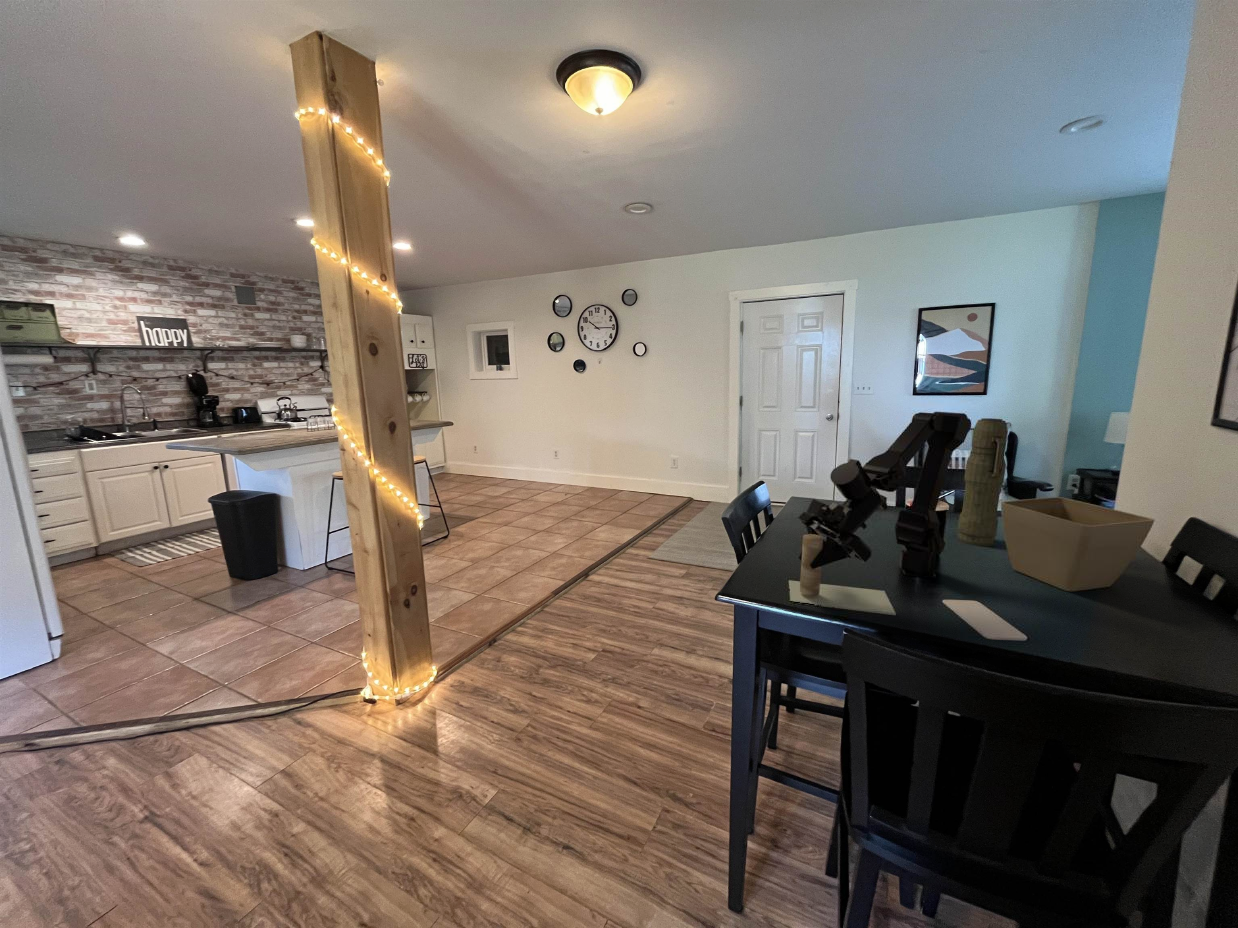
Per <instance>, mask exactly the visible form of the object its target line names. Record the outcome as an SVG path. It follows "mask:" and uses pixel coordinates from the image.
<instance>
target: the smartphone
mask: <svg viewBox="0 0 1238 928" xmlns="http://www.w3.org/2000/svg"><path fill="white" fill-rule="evenodd" d="M942 603H943V604H944V605H945V606H946V607H948V608H949V609H951V611H953V612H954V613H955V614H956V615H958V617H959V618H961V619H962V620H963V621H965V622H966V623H967V624H968V625H969V626H970V627H972V628H973V629H974V630H975V631H977V632H978V634H980V635H981V636H983V637H984V638H986V639H987V640H988V639H989V640H997V641H998V640H1000V641H1002V640H1003V641H1027V639H1028V637H1027V636H1026V634H1024V633H1023V632H1021V631H1020V630H1018V629H1017V628H1016V627H1014V626H1013V625H1011V624H1010V623H1009V622H1007V621H1006V620H1004V618H1002V617H1000V616H999V615H997V614H996V613H995V612H993V611H992V610H990V609H989V608H988V607H986V606H985V605H984V604H982V603H981V602H979V601H977V600H965V599H964V600H963V599H962V600H961V599H943V600H942Z"/></svg>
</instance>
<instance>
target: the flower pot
mask: <svg viewBox="0 0 1238 928" xmlns="http://www.w3.org/2000/svg"><path fill="white" fill-rule="evenodd" d="M1000 510H1001V511H1000V512H1001V513H1000V514H1001V523H1002V524H1001V525H1002V529H1003V536H1004V541H1005V546H1006V549H1007V553H1008V557H1009V561H1010V564H1011V566H1012V568H1013V570H1014V571H1016V572H1018V573H1021V574H1024V575H1026V576H1029V577H1031V578H1033V579H1035V580H1038V581H1041V582H1043V583H1045V584H1048V585H1051V586H1053V587H1055V588H1058V589H1061V590H1062V591H1067V592H1079V591H1087V590H1095V589H1101V588H1108V587H1111V586H1112V585H1113V584H1114V583H1115V582H1116V581H1117V580H1118V579H1119V577H1120V576H1121V575H1122V573H1123V572H1124V571H1125V570H1126V569H1127V567H1128V566H1129V565H1130V563H1131V562H1132V560H1133V559H1134V558H1135V556H1137V553H1138V552H1139V550H1140V549H1141V547H1142V545H1143V544H1144V542H1145V541H1146V539H1147V537H1148V534H1149V533H1150V531H1151V529H1152V527H1153V525H1154V522H1155V519H1154V518H1152V517H1147V516H1144V515H1143V516H1142V515H1138V514H1134V513H1130V512H1127V511H1122V510H1118V509H1114V508H1110V507H1105V506H1101V505H1096V504H1094V503H1093V504H1091V503H1088V502H1084V501H1079V500H1075V499H1072V498H1071V499H1070V498H1065V497H1060V496H1052V497H1041V498H1029V499H1018V500H1017V499H1016V500H1015V499H1014V500H1006V501H1001V502H1000Z"/></svg>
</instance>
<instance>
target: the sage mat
mask: <svg viewBox="0 0 1238 928" xmlns="http://www.w3.org/2000/svg"><path fill="white" fill-rule="evenodd" d="M788 588H789V589H790V591H789V602H790V601H793V602H800V603H799V604H801V603H809V604H814V605H813V606H817V605H819V606H818V607H825V608H826V607H827V608H833V607H834V609H842V610H850V611H859V612H865V613H874V614H875V613H876V614H881V615H889V616H891V615H892V616H896V614H897V613H896V611H895V609H894V607H893V605H892V603H891V602H890V599H889V597H888V595H887V594H886V591H885V590H878V589H870V588H860V587H852V586H843V585H833V584H826V583H820V591H819V594H818V595H816V596H809V595H805V594H803V593H801V592H800V580H799V581H797V580H788ZM793 602H792V603H793ZM809 604H808V605H809ZM820 605H821V606H820Z"/></svg>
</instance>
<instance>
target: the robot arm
mask: <svg viewBox="0 0 1238 928" xmlns="http://www.w3.org/2000/svg"><path fill="white" fill-rule="evenodd" d="M971 428H972V419H970V418H969V417H968V415H967V414H966V413H964V412H949V411H948V412H947V411H934V412H922V411H921V412H916V413H914V414H913V416H912V417H911V422H910V423H909V424H908V425H907V427H905V429H904V430H903V431H902V432H901V434H900V435H899V436H898V437H897V438H896V439H895V440H894V442H893V443H892V444H891V445H890V446H889V448H888V449H887V450H886V451H884V452H883V453H881V454H879V455H875V456H873V457H872V458H871V459H870V460H868V461H867V462H866V463H865V464H864V465H863V466H862V463H861V461H860V460H858V459H853V458H850V459H849V460H847V462H845V463H841V464H839V465H838V466H836V467H835V468H833V469H832V470H831V472H830V476H829V477H830V480H831V482H832V484H833V485H834V486H835V487H836V489H837V490H838V491H839V493H840V494H841V495H842V497H843V498H845V499H846V500H845V501H844V502H842V504H840V503H839V502H837V503H835V502H832V503H831V504H829V505H828V504H826V503H824V502H822V501H819V500H817V499H815V498H812V500H811V501H810V504H809V506H808V507H807V510H806V511H804V512H802V513H800V515H799V517H797V518H798V520H799V521H800V522H801V523H802V525H804V526H805V528H806V531H807V532H806V533H807V534H815V535H819V536H822V537H823V549H822V550H821V551H820V552H819V554H818V555H817V556H816V557H815V558H814V560H813V561H812V563H811V564H810V567H811V568H812V569H815V568H818V567H821V568H822V567H823V566H826V565H828V564H832V563H834V562H835V563H836V562H839V561H842V560H844V559H849V560H850V559H852V556H851V555H852V553H854V557H855V558H856V559H857V560H859V561H860V562H862V563H864V564H866V563H867V561H869V559H870V558H872V552H873V550H872V549H871V548H870V547H869V546H868V545H867V544H866V543H865V542H864V540H863V539H862V538H861V537H860V536H858V535H856V534H855V533H856V532H857V531H858V530H859V529H861V530H865V529H866V528H867V527H868V525H867V524H866V522H867V521H868V520H869V519H870V517H871V516H873V514H875V512H876V511H877V510H878V509H879V508H880V509H881V510H884V511H886V510H887V509H888V503H887V500H888V498H887V497H886V496H885V495H882V494H881V493H880V492H879V491H883V492H887V493H895V492H896V491H897V490H898V489H899V488H900V487H901V485H902V484H903V481H904V479H905V478H906V477H907V475H906V474H907V473H906V467H908V466H907V465H909V463H910V462H911V460H912V459H913V458H914V457H915V456H916V455H917V453H918V452H919V451H920V450H921V448H922V447H923V446H924V445H925V444H926V443H927V446H928V448H927V452H926V454H925V458H924V462H923V465H922V469H921V472H920V475H919V479H918V482H917V486H916V489H915V493H914V495H913V500H912V503H911V505H910V506H909V507H907V508H906V509H901V510H900V511H899V513H898V518H897V520H896V522H895V526H894V532H895V538H896V544H897V545H901V546H902V549H900V551H899V558H898V566H899V568H900V569H901V570H902V572H903V574H904V575H906V576H911V577H913V576H914V577H923V578H932V579H935V578H937V574H935V563H936V555H938V556H939V555H942V553H943V551H944V550H945V547H946V542H945V540H944V538H943V537H942V535H941V533H940V532H939V531H940V527H941V526H940V525H941V523H940V520H939V518H938V514H937V512H936V511H937V506H938V502H939V500H940V497H941V496H940V495H941V493H942V490H943V486H944V483H945V479H946V476H947V472H948V469H949V465H950V462H951V459H952V456H953V452H954V451H956V449H958V448H959V447H960V446H961V445H962V444H964V442H965V440H966V438H967V436H968V433H970V431H971V430H972V429H971ZM798 560H799V561H801V562H802V550H801V552H800V554H799V556H798Z"/></svg>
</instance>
